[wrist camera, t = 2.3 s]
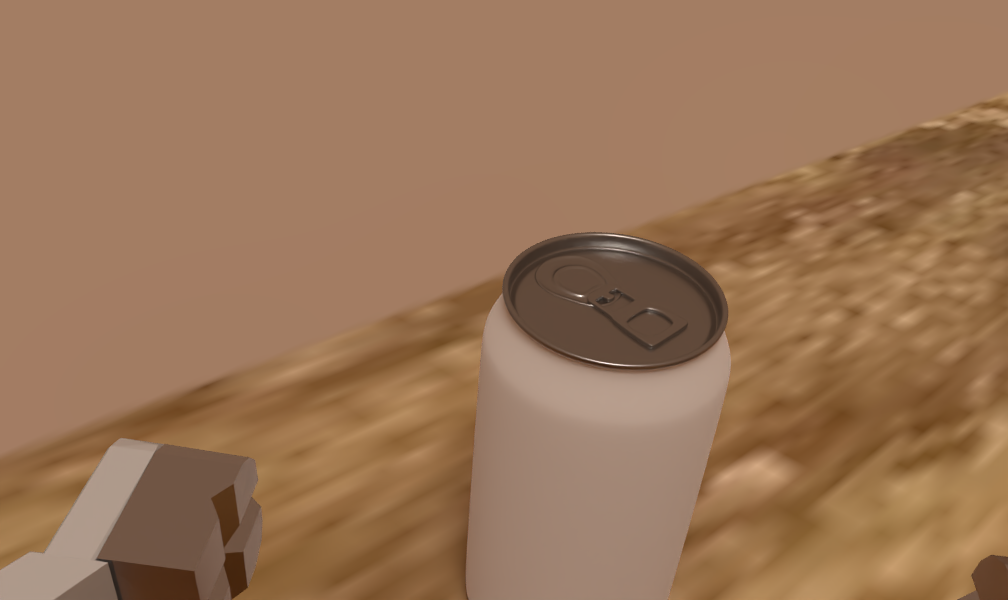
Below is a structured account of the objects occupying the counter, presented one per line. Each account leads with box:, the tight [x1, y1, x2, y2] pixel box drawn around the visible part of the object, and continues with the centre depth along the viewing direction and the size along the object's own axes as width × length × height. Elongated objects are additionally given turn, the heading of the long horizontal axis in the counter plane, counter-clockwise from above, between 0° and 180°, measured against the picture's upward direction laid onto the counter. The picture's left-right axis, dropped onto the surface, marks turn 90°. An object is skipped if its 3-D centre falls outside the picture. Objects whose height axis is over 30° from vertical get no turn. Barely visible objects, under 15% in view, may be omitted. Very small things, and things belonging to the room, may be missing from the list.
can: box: [466, 232, 731, 600], centre depth 27 cm, size 6×6×12 cm
